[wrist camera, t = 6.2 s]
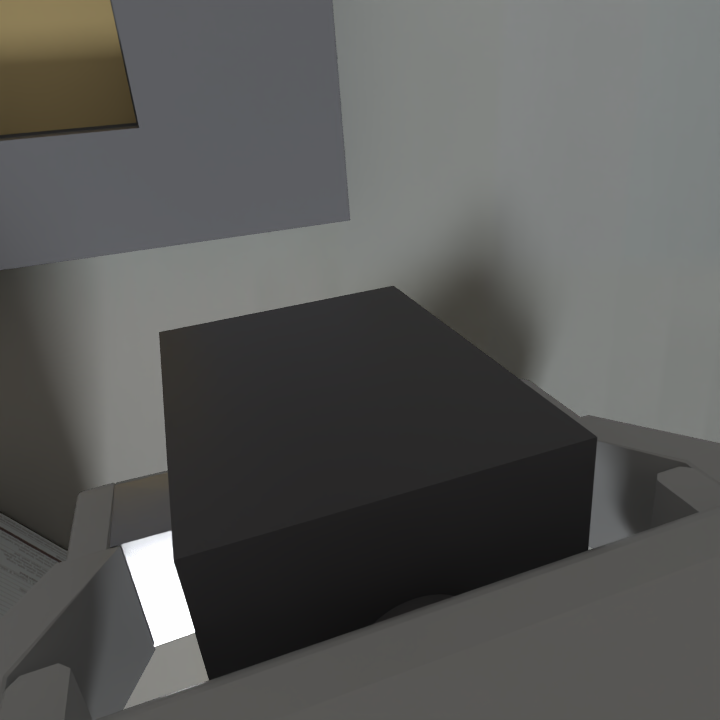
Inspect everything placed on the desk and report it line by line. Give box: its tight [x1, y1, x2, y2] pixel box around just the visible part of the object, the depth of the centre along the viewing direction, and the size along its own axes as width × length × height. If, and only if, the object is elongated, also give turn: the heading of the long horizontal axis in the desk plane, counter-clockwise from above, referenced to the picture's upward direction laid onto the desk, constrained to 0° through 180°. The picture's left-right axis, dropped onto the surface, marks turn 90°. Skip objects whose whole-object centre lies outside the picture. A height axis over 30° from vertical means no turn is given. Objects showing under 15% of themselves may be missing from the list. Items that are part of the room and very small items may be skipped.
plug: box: [159, 286, 597, 680], centre depth 9 cm, size 4×4×8 cm
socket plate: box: [0, 0, 350, 270], centre depth 19 cm, size 20×14×3 cm
